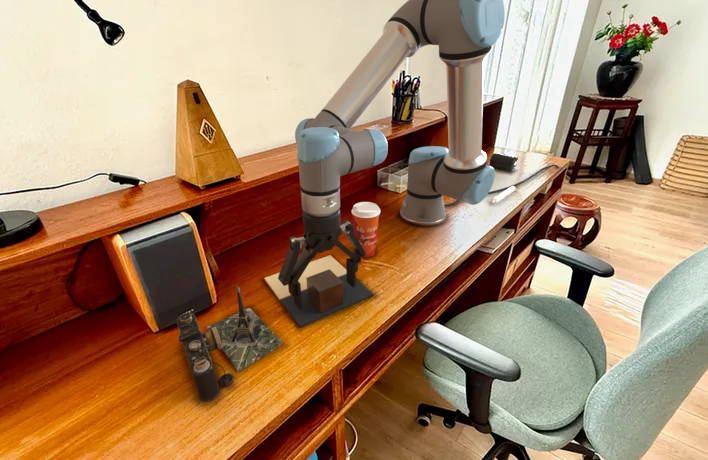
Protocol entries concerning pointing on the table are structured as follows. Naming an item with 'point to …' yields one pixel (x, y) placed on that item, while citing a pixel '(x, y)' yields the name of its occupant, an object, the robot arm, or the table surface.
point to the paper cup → (366, 225)
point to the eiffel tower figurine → (245, 336)
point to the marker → (503, 194)
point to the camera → (202, 356)
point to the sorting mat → (308, 310)
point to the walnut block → (325, 290)
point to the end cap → (503, 162)
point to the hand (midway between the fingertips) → (325, 294)
